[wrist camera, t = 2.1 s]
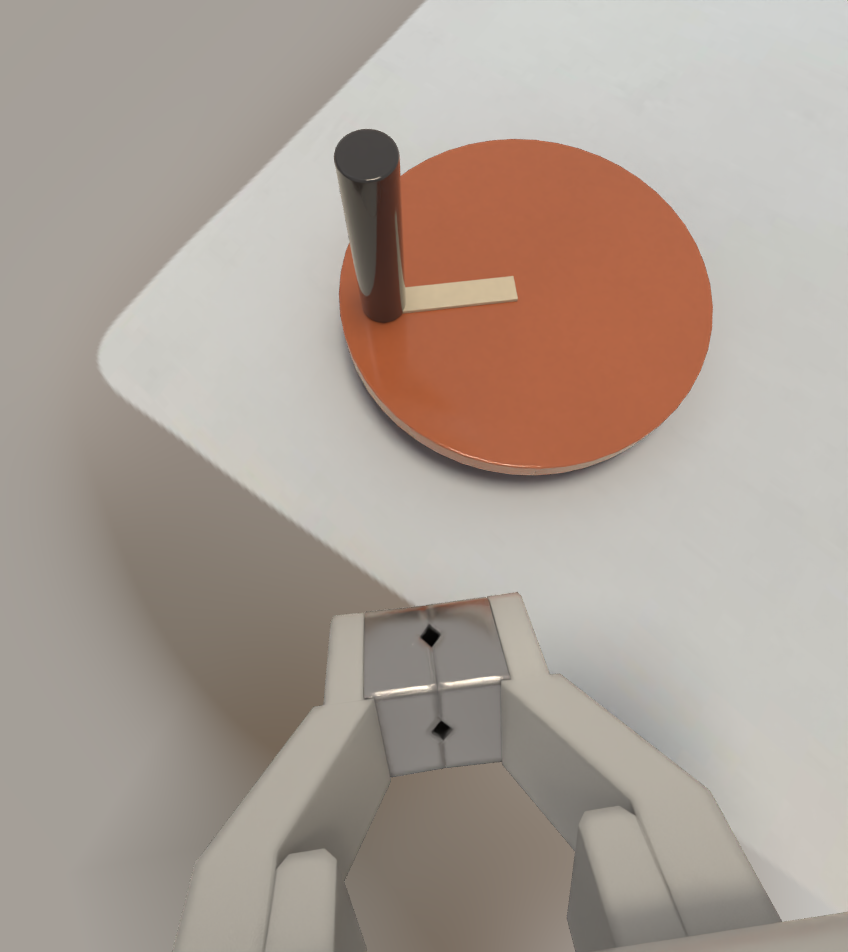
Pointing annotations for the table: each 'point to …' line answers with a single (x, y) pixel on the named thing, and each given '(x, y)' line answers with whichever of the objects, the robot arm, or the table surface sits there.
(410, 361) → the orange turntable with peg
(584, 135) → the table surface
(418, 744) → the robot arm
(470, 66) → the table surface
